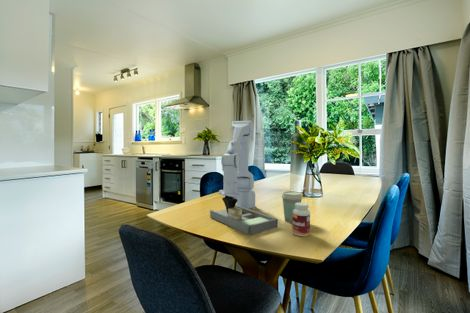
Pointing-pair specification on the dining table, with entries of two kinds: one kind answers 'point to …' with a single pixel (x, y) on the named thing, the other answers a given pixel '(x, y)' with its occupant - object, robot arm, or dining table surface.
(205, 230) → the dining table surface
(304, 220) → the pill bottle
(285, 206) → the coffee cup
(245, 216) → the box
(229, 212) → the birch block
